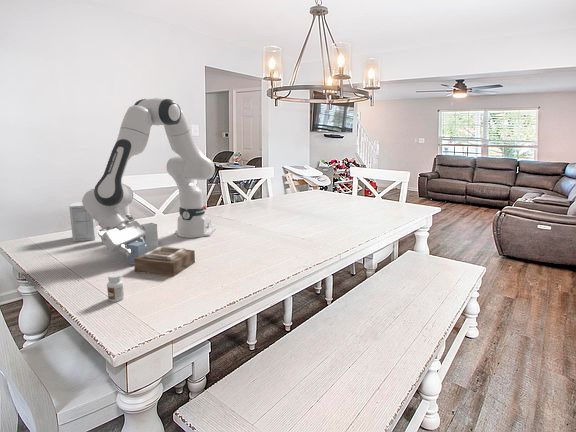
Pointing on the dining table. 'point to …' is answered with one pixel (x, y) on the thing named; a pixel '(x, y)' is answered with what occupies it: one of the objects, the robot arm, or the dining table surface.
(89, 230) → the supplement box
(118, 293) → the pill bottle
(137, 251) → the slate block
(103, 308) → the dining table surface
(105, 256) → the dining table surface
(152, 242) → the skincare box
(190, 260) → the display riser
